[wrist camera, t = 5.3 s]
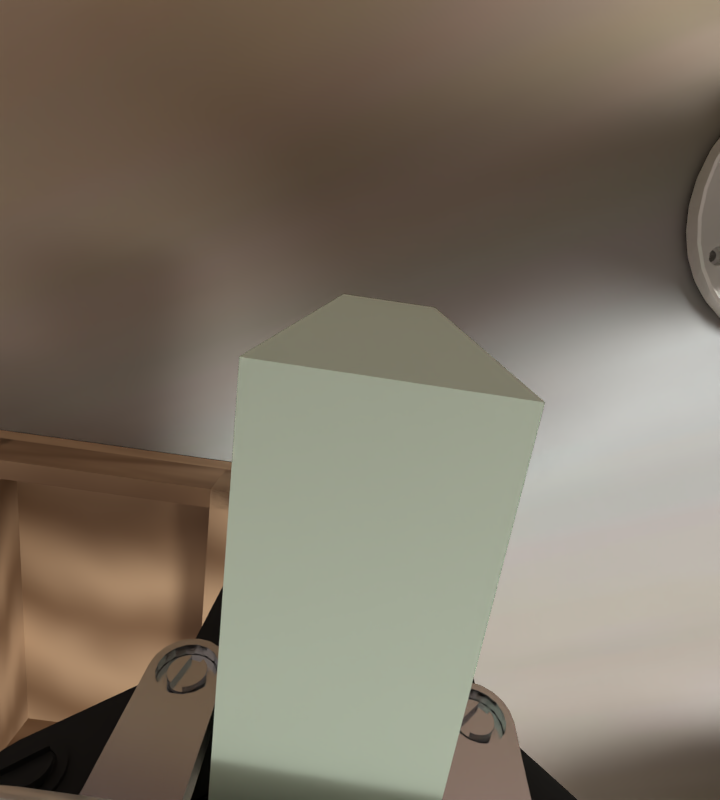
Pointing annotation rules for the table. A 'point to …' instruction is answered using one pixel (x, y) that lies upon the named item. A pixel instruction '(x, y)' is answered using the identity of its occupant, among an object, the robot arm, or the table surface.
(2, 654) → the wooden divided tray
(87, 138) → the table surface
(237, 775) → the door
